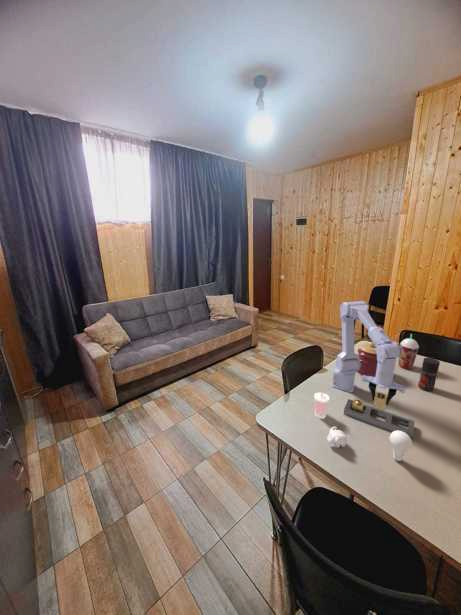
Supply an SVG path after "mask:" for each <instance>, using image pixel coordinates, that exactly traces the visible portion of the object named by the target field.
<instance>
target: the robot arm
mask: <svg viewBox="0 0 461 615" xmlns="http://www.w3.org/2000/svg"><path fill="white" fill-rule="evenodd" d="M339 314H340V315H339V316H340V317H339V318H340V319H341V336H342V337H341V338H342V339H341V343H342V344H341V345H342V346H341V347H342V348H341V349H342V351H341V352H340V353H339V354H337V356H336V362H335V366H336V367H335V368H334V371H333V376H332V385H331V387H333V388H336V389H338V390H341V391H344V392H345V391H346V392H348V393H351V394H353V393H354V390H355V388H356V386H357V384H356V383H355V378H356V373H358V372H357V370H359V369H360V367H361V364H360V360H359V356H358V353H355V321H356V319H358V320H359V321H360V322H361V323H362V325H363V326H364V327H365V328H366V329H367V330H368V331H367V336H368V337H369V338H370V341H372V342H373V343H374V345H375V346H376V354H377V360H378V363H377V370H376V377H372V376H365V375H362V378H361V382H363V383H365V382H366V383H368V389H369V390H370V395H371V400H372V402H374V398H375V394H376V390H377V386H378V388H380V389H388V393H387V400H386V406H388V405H389V403H390V402H391V400H392V398H393V397H394V396H396V395H397V391H398V392H401V393H403V394H406V393H405V392H406V388H407V387H406V386H404V385H402V384H399V383H397V382H395V381H393V380H394V374H395V368H396V363H397V358H399V357H400V356H401V353H402V351H401V347H400V343H398V342H396V341H394V340H393V339H390V337H389V336H388V334H387V333H386V332H385V330H384V329H383V327H380V326H377V324H376V322H375V321H374V319H373V318H372V317H371V315H370V313H369V306H368V304H367V303H366V302H365V301H364V300H359V301H350V302H349V301H347V302H346V301H344V302H342V304H340V306H339Z"/></svg>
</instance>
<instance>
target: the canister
mask: <svg viewBox="0 0 461 615" xmlns="http://www.w3.org/2000/svg"><path fill="white" fill-rule="evenodd" d="M357 355H358V356H359V360H360V364H361V367H360V369H359V370H357V372H356V373H357V374H359V375H361V376H363V375H365V376H372V377H376V370H377V363H378V360H377V354H376V346H375V345H374V343H373V342H369V343H363V344H361V345H359V348H357Z"/></svg>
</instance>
